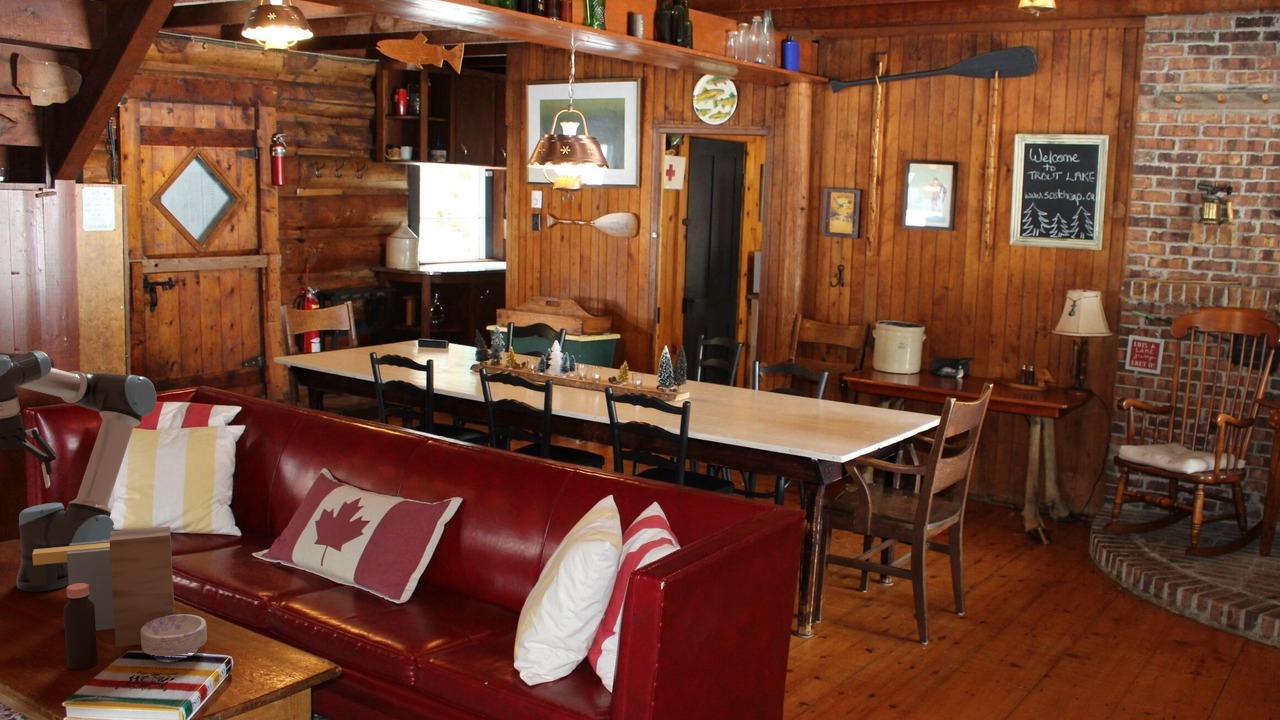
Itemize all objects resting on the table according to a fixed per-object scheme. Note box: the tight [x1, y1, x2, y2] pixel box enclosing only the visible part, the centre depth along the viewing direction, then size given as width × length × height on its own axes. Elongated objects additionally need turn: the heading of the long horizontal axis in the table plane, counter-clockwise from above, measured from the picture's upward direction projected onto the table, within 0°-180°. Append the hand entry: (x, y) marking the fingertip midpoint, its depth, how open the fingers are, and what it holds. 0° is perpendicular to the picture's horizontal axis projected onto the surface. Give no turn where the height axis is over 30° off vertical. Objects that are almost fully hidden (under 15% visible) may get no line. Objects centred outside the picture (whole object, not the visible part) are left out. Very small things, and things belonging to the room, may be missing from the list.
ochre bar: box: [32, 543, 110, 565], centre depth 308 cm, size 4×24×3 cm, turn 111°
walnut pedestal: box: [109, 525, 176, 648], centre depth 301 cm, size 8×14×28 cm, turn 111°
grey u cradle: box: [67, 540, 115, 632], centre depth 311 cm, size 9×16×22 cm, turn 111°
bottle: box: [63, 583, 99, 671], centre depth 285 cm, size 7×7×20 cm
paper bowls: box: [140, 613, 208, 656], centre depth 293 cm, size 15×15×8 cm
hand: (20, 490), depth 313 cm, fingers open, 13 cm apart
